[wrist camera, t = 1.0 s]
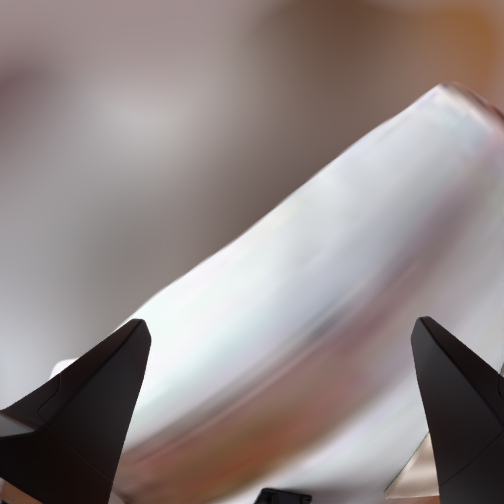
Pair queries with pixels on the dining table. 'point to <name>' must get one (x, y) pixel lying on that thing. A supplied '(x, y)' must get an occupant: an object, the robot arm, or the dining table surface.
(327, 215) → the dining table surface
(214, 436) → the dining table surface
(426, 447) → the cream and grey cloth
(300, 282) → the dining table surface
